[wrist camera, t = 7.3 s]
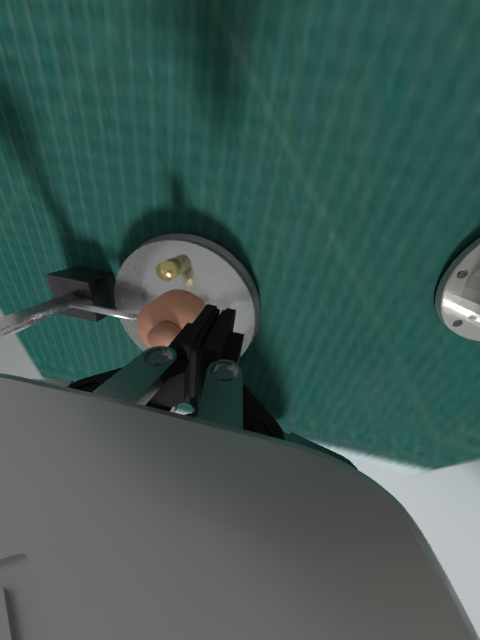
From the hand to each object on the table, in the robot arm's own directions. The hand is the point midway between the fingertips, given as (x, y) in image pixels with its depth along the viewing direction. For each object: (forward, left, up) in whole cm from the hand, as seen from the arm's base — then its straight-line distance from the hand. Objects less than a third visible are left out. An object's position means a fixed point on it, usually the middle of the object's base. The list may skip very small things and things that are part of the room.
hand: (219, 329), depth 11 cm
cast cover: (+6, +6, -10) cm, 13 cm away
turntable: (+6, +6, -11) cm, 14 cm away
